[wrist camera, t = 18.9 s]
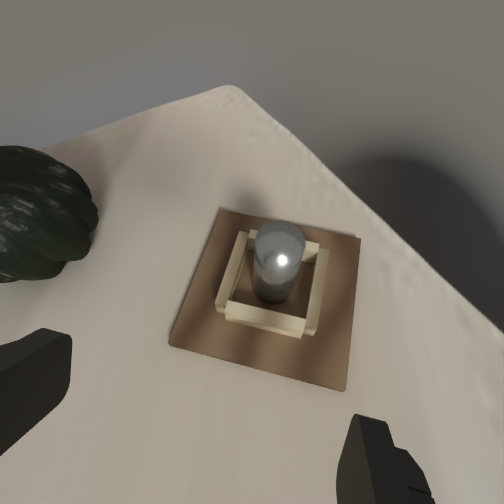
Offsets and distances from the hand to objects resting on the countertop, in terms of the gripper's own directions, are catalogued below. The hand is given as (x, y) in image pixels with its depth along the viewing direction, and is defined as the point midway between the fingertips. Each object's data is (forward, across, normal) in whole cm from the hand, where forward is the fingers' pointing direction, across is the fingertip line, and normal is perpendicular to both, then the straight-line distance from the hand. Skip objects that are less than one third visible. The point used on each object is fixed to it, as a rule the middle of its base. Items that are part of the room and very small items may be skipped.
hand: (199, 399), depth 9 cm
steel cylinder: (+28, 0, +6) cm, 28 cm away
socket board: (+29, 0, +6) cm, 29 cm away
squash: (+28, +28, +7) cm, 40 cm away
